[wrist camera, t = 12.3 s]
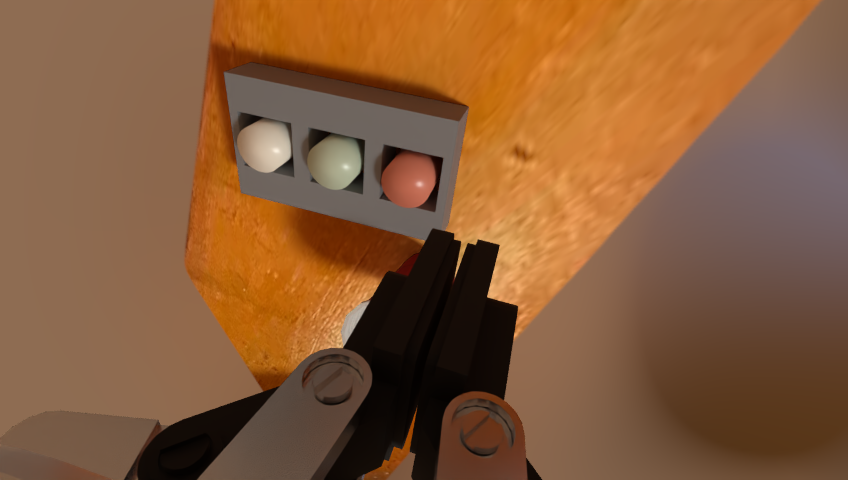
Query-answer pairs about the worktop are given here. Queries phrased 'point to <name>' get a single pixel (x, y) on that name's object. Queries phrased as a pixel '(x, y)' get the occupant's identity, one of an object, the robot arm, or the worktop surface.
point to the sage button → (336, 160)
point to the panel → (356, 117)
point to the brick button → (411, 177)
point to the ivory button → (266, 144)
